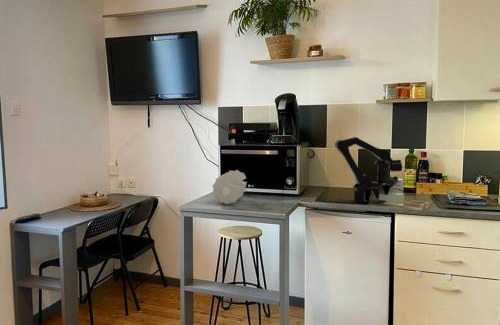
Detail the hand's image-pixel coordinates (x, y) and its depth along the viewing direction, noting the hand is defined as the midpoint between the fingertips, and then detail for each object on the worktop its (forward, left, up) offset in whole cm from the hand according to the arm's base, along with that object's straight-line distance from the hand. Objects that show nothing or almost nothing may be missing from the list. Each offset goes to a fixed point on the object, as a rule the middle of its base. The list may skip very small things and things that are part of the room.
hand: (382, 198), depth 227 cm
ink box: (+15, +1, -2) cm, 15 cm away
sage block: (0, -5, -1) cm, 5 cm away
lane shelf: (0, -15, -2) cm, 15 cm away
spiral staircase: (-64, +62, -2) cm, 89 cm away
